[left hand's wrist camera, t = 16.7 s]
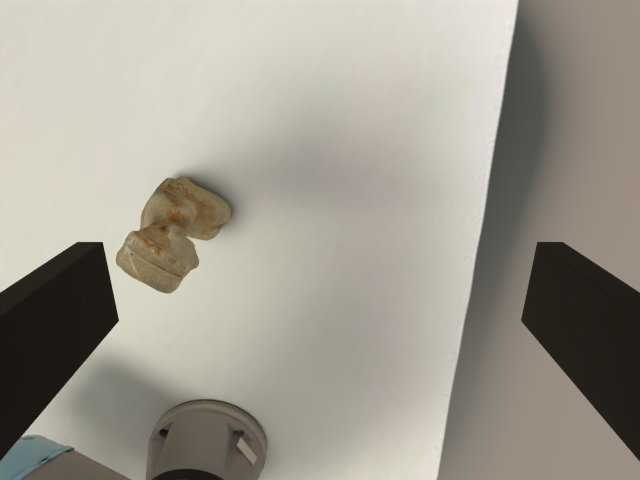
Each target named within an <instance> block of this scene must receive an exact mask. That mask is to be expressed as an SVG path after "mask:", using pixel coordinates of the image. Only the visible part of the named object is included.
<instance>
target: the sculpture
mask: <svg viewBox="0 0 640 480" xmlns="http://www.w3.org/2000/svg"><path fill="white" fill-rule="evenodd" d="M230 217H231V209H230V207H229V205H228V204H227V203H226V202H225V201H224V200H223V199H222V198H220V197H218V196H217V195H215V194H213V193H211V192H209V191H207V190H205V189H203V188H201V187H199V186H197V185H195V184H193V183H192V182H191V181H190V180H189V179H188V178H185V177H180V178H178V179H173V178H167V179H165V180H164V181H163V182H162V183H161V184H160V186H159V187H158V188H157V189H156V190H155V192H154V193H153V195H152V196H151V197H150V199H149V200H148V202H147V203H146V205H145V207H144V209H143V212H142V215H141V226H140V230H139V231H132V232H130V233H129V235H128V236H127V238H126V240H125V243H124V244H123V246H122V248H121V249H120V250H119V252H118V254H117V256H116V263H117V265H118V266H119V267H121V268H122V270H123V271H124V272H126V273H127V274H128V275H130V276H131V277H133V278H135V279H137V280H139V281H141V282H143V283H145V284H147V285H148V286H150V287H152V288H154V289H155V290H157V291H160V292H163V293H172V292H173V291H175V290H176V289H177V288H178V287H179V285H180V283H181V281H182V280H183V278H184V277H185V276H186V275H187V274H188V273H189V272H190V270H192V269H194V268H196V267H198V265H199V259H198V256H197V254H196V250H195V246H194V243H193V242H192V241H190V240H189V239H188V238H187V237H186V236H188V237H191V238H195V239H200V240H210V239H212V238H214V237H215V236H216V235H217V234H218V233H219V231H220V229H221V227H220V225H221V224H225V223H227V222H228V220H229V219H230Z"/></svg>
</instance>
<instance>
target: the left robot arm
mask: <svg viewBox="0 0 640 480" xmlns="http://www.w3.org/2000/svg"><path fill="white" fill-rule="evenodd" d="M118 321H119V319H118V314H117V309H116V304H115V299H114V295H113V290H112V285H111V280H110V275H109V270H108V266H107V261H106V256H105V251H104V246H103V242H77V243H75V244H74V245H72V246H71V247H69V248H68V249H66V250H65V251H63V252H61V253H60V254H58V255H57V256H55V257H54V258H52V259H51V260H49V261H48V262H46V263H45V264H43V265H42V266H40V267H39V268H37V269H36V270H34V271H33V272H31V273H30V274H28V275H26V276H25V277H23V278H22V279H20V280H19V281H17V282H16V283H14V284H13V285H11V286H10V287H8V288H7V289H5V290H4V291H2V292H1V293H0V480H130V479H129V478H127V477H125V476H123V475H121V474H119V473H117V472H115V471H113V470H111V469H109V468H108V467H106V466H104V465H102V464H100V463H98V462H96V461H94V460H92V459H90V458H88V457H86V456H85V455H83V454H81V453H79V452H77V451H75V450H74V448H73V447H71V446H63V445H61V444H58V443H56V442H54V441H52V440H49V439H47V438H45V437H43V436H39V435H28V436H24V437H21V436H22V435H23V434H24V433H25V431H26V430H27V429H28V428H29V427H30V425H31V424H32V423H33V422H34V421H35V420H36V418H37V417H38V416H39V415H40V414H41V412H42V411H43V410H44V409H45V408H46V407H47V405H48V404H49V403H50V402H51V401H52V399H53V398H54V397H55V396H56V395H57V393H58V392H59V391H60V390H61V389H62V388H63V386H64V385H65V384H66V383H67V382H68V380H69V379H70V378H71V377H72V376H73V375H74V373H75V372H76V371H77V370H78V369H79V367H80V366H81V365H82V364H83V363H84V362H85V360H86V359H87V358H88V357H89V356H90V354H91V353H92V352H93V351H94V350H95V348H96V347H97V346H98V345H99V344H100V343H101V341H102V340H103V339H104V338H105V337H106V335H107V334H108V333H109V332H110V331H111V330H112V328H113V327H114V326H115V325H116V324H117V322H118ZM521 321H522V322H523V324H524V325H525V326H526V327H527V328H528V330H529V331H530V332H531V333H532V334H533V335H534V337H535V338H536V339H537V340H538V341H539V343H540V344H541V345H542V346H543V347H544V348H545V350H546V351H547V352H548V353H549V354H550V356H551V357H552V358H553V359H554V360H555V361H556V363H557V364H558V365H559V366H560V367H561V369H562V370H563V371H564V372H565V373H566V374H567V376H568V377H569V378H570V379H571V380H572V382H573V383H574V384H575V385H576V386H577V388H578V389H579V390H580V391H581V392H582V393H583V395H584V396H585V397H586V398H587V399H588V401H589V402H590V403H591V404H592V405H593V407H594V408H595V409H596V410H597V411H598V412H599V414H600V415H601V416H602V417H603V418H604V419H605V421H606V422H607V423H608V424H609V425H610V427H611V428H612V429H613V430H614V431H615V433H616V434H617V435H618V436H619V437H620V438H621V440H622V441H623V442H624V443H625V444H626V446H627V447H628V448H629V449H630V450H631V451H632V453H633V454H634V455H635V456H636V457H637V459H638V460H639V461H640V293H639V292H638V291H636V290H635V289H633V288H632V287H630V286H629V285H627V284H626V283H624V282H623V281H621V280H620V279H618V278H617V277H615V276H614V275H612V274H610V273H609V272H607V271H606V270H604V269H603V268H601V267H600V266H598V265H597V264H595V263H594V262H592V261H591V260H589V259H588V258H586V257H585V256H583V255H582V254H580V253H579V252H577V251H575V250H574V249H572V248H571V247H569V246H568V245H566V244H565V243H563V242H537V246H536V251H535V256H534V261H533V266H532V271H531V275H530V280H529V285H528V290H527V295H526V299H525V304H524V309H523V314H522V319H521ZM20 437H21V438H20ZM265 455H266V439H265V436H264V433H263V431H262V429H261V428H260V426H259V425H258V424H257V422H256V421H255V420H254V419H253V418H252V417H251V416H249V415H248V414H247V413H245V412H244V411H242V410H240V409H239V408H236V407H234V406H232V405H229V404H226V403H222V402H217V401H207V400H202V401H192V402H187V403H184V404H181V405H178V406H176V407H174V408H172V409H171V410H169V411H168V412H167V413H166V414H164V415H163V416H162V418H161V419H160V420H159V422H158V423H157V425H156V427H155V429H154V431H153V434H152V436H151V438H150V441H149V448H148V459H147V472H146V480H257V479H258V477H259V475H260V473H261V472H262V469H263V466H264V462H265Z"/></svg>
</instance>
